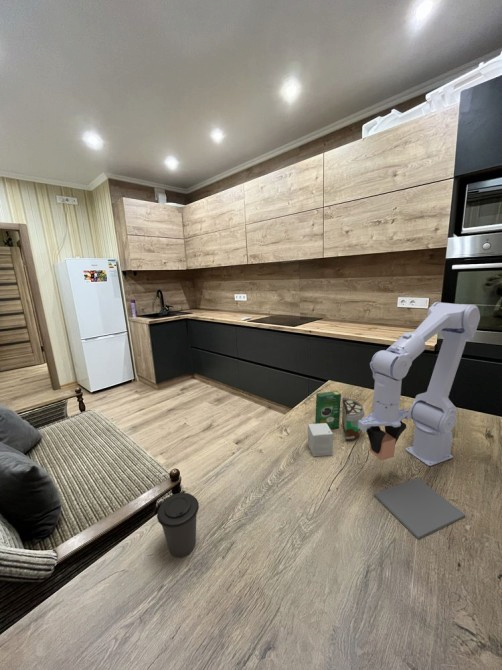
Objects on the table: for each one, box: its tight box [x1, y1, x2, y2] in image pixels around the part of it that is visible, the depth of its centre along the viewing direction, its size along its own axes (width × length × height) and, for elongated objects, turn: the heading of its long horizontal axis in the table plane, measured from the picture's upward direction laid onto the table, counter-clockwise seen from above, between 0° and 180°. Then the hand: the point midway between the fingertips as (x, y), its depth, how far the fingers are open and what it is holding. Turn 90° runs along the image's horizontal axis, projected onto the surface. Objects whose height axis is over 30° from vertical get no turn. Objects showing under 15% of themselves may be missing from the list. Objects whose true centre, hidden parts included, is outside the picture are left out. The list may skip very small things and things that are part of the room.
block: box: [369, 430, 397, 461], centre depth 71 cm, size 4×4×5 cm
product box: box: [307, 423, 334, 457], centre depth 84 cm, size 6×6×7 cm
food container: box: [341, 397, 366, 442], centre depth 92 cm, size 12×6×10 cm, turn 168°
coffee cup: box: [156, 492, 200, 559], centre depth 56 cm, size 8×8×10 cm
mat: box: [373, 477, 466, 540], centre depth 64 cm, size 14×12×1 cm
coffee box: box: [314, 390, 342, 430], centre depth 95 cm, size 8×3×13 cm, turn 103°
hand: (382, 448), depth 71 cm, fingers closed on block, 4 cm apart
